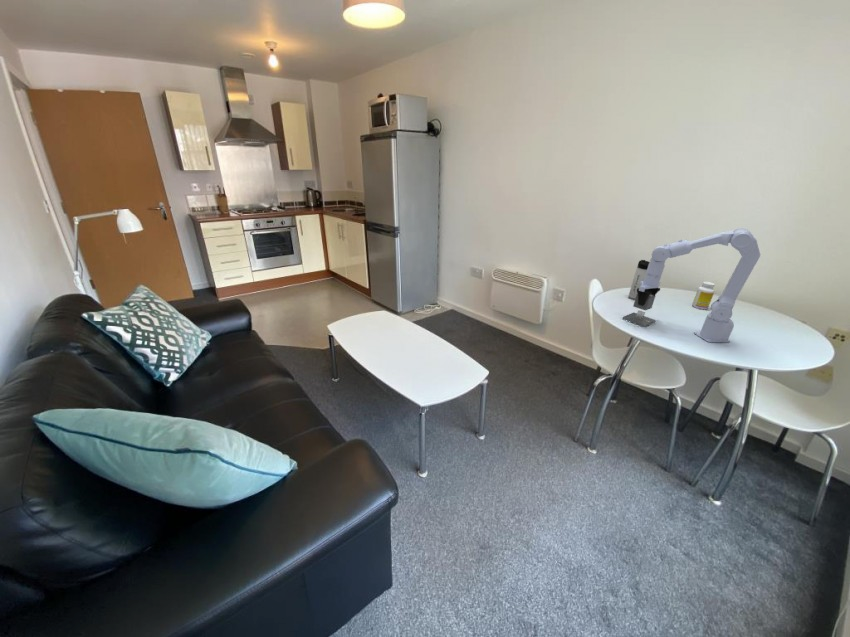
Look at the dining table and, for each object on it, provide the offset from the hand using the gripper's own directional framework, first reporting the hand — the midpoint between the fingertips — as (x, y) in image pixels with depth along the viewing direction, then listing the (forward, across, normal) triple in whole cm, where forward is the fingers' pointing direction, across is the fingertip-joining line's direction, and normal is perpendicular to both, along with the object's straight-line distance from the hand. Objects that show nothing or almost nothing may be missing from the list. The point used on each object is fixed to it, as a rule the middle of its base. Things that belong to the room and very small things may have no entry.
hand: (644, 303), depth 157 cm
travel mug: (+9, -27, -15) cm, 33 cm away
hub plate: (+8, 0, 0) cm, 8 cm away
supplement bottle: (+9, -45, +8) cm, 46 cm away
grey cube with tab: (+2, 0, 0) cm, 2 cm away
